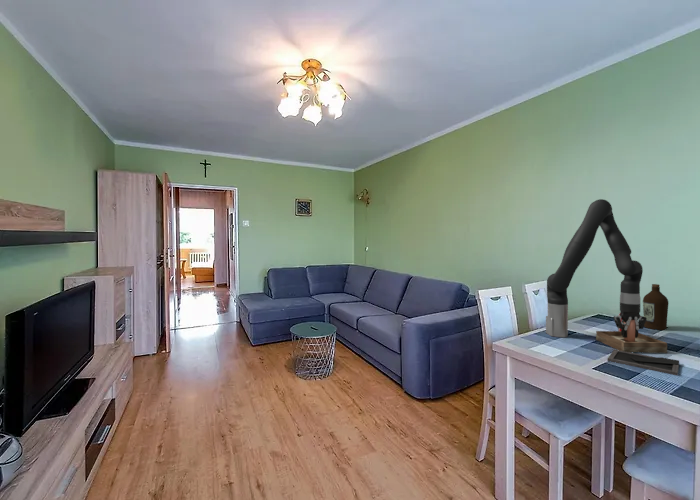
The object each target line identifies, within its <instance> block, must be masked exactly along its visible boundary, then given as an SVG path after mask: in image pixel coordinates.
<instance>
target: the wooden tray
mask: <svg viewBox="0 0 700 500" xmlns="http://www.w3.org/2000/svg"><path fill="white" fill-rule="evenodd" d="M595 340H596V341H598V342H600V343H602V344H605V345H606V346H609V347H611V348H613V349H615V350H620V351H625V352H631V353H632V352H641V353H642V352H643V353H644V354H645V353H650V354H653V353H655V354H667V353H668V342H665V341H663V340H659V339H657V338H654V337H652V336H649V335H646V334H643V333H641V332H638V337H637V338H635V342H625V341H624V337H622V335H621V331H618V330H603V331H602V330H596V331H595ZM641 353H640V354H641ZM643 353H642V354H643Z"/></svg>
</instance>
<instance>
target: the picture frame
mask: <svg viewBox="0 0 700 500" xmlns="http://www.w3.org/2000/svg"><path fill="white" fill-rule="evenodd" d="M610 361H611V362H610ZM607 362H610V363H615V362H616V363H615V364H620V365H624V364H625V365H626V366H629V367H635V368H639V369H644V370H648V371H654V372H659V373H663V374H667V375H673V376H678V375H679V368H680V360H679V359H678V360H677V359H672V358H667V357H660V356H659V357H657V356H653V355H652V356H650V355H646V354H641V353H632V352H625V351H620V350H617V349H615V348H613V350H612V351H611V353H609V356H608V357H607Z"/></svg>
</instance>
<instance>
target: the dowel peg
mask: <svg viewBox="0 0 700 500" xmlns="http://www.w3.org/2000/svg"><path fill="white" fill-rule="evenodd" d="M624 323H626V322H624ZM624 326H625V325H624ZM624 341H625V342H635V320H631V321H630V324H629V326H628V328H627V338H624Z"/></svg>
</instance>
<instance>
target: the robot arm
mask: <svg viewBox="0 0 700 500" xmlns="http://www.w3.org/2000/svg"><path fill="white" fill-rule="evenodd" d="M599 228H601V230H602V232H603V234H604V237H605V239H606V242H607V246H608V247H609V248H610V251H611V253H612V255H613V257H614V262H615V266H616V268H617V270H618V272H619V273H620V274H621V275H623V280H621V281H620V292H619V314H620V315H619V314H618V315H619V316H618V315H617V316H616V315H613V317H612V318H613V321H614V323H615V326H616V327H617V329H618V328H620V329H621V335H622V337H624V338H627V328H628V326H629V324H630V321H631V320H635V338H637V337H638V333H639V330H643V329H644V328H645V327H644V324H645V322H646V319H647V318H646V317H644V315H641V314H640V313H641V293H640V291H641V287H640V285H641V281H642V277H643V271H644V270H643V265H642V263H640V262H639V261H637V260H633V259H632V255H631V254H632V249H631V247H630V245H629V243H628V241H627V239H626V238H625V236H624V235H623V233H622V232H621V230H620V228H619V226H618V224H617V223H616V220H615V216H614V213H613V207H612V204H611V202H610V201H608V200H606V199H601V198H600V199H596V200H595V201H592V202H591V203H590V204H589V206H588V207H587V210H586V214H585V216H584V217H583V220H582V222H581V224H580V225H579V227H578V228H577V230H576V231H575V233H574V234H573V236H572V237H571V239H570V240H569V243H568V244H567V246H566V248H565V250H564V253H563V256H562V259H561V260H562V261H561V263H560V265H559V267H558V268H557V270H556V271H555V272H554V273H552V274H550V275H549V276H547V279H546V299H547V315H546V316H545V334H547V335H549V336H550V337H556V338H567V337H568V336H569V335H568V334H569V330H568V329H569V327H568V326H569V297H568V293H567V291H568V288H569V286H570V284H571V281H572V279H573V277H574V275H575V272H576V271H577V269H578V267H580V265H581V263H583V260H584V259H585V258H586V256H587V254H588V252H589V251H590V250H591V247H592V245H593V243H594V240H595V238H596V235H597V232H598V230H599ZM620 312H621V313H620ZM621 319H622V321H621ZM624 322H626V323H624ZM624 325H625V326H624Z"/></svg>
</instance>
